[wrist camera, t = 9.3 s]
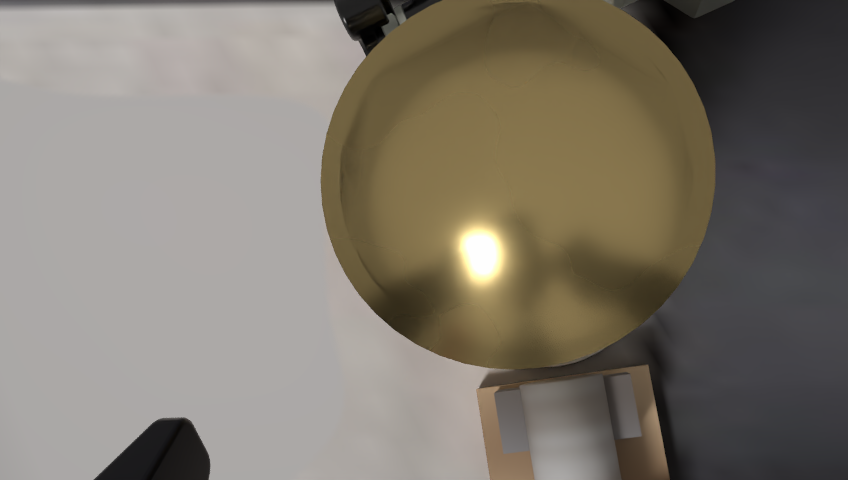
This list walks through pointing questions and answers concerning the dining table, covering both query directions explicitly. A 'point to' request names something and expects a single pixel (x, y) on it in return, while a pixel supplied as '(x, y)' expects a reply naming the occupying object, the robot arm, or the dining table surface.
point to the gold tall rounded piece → (518, 179)
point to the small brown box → (574, 428)
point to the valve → (375, 17)
